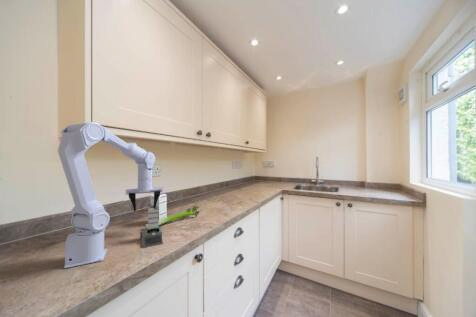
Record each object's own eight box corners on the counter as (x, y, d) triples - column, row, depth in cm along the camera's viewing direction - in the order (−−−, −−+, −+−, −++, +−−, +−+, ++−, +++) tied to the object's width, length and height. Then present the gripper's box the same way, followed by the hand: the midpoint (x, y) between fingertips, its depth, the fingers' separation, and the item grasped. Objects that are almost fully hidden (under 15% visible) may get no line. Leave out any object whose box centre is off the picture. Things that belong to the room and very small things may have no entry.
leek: (142, 231, 86) (195, 212, 109) (148, 238, 82) (202, 217, 104) (142, 219, 85) (195, 202, 108) (148, 226, 81) (203, 207, 103)
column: (148, 229, 72) (148, 210, 72) (148, 226, 76) (148, 208, 76) (158, 227, 74) (158, 209, 74) (157, 225, 77) (158, 207, 77)
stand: (142, 248, 67) (142, 236, 67) (142, 232, 82) (142, 222, 82) (162, 243, 70) (162, 233, 70) (159, 229, 85) (159, 220, 85)
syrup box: (167, 221, 96) (167, 193, 96) (159, 225, 90) (158, 195, 90) (158, 220, 98) (158, 193, 98) (149, 224, 92) (149, 195, 92)
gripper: (161, 177, 88) (161, 205, 87) (126, 178, 81) (126, 209, 81) (163, 178, 81) (163, 209, 81) (125, 180, 75) (125, 213, 74)
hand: (144, 209), depth 81 cm, fingers open, 7 cm apart
